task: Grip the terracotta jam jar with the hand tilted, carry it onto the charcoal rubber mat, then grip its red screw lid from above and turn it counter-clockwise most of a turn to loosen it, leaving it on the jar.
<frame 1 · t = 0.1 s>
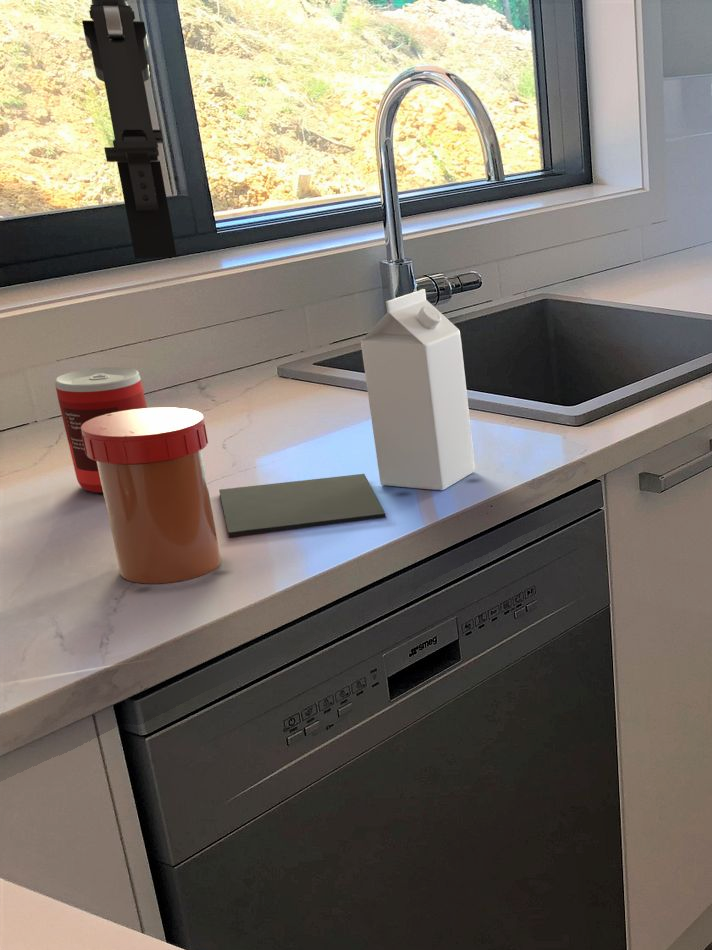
hand: (154, 244, 105), 28 cm above the countertop, tool pointing down, fingers open, 13 cm apart
canned food: (120, 483, 143), on the countertop
jar: (171, 566, 121), on the countertop
jar lid: (143, 426, 116), point 13 cm above the countertop, screwed on, not yet turned
milk carton: (429, 481, 145), on the countertop
mat: (301, 506, 137), on the countertop
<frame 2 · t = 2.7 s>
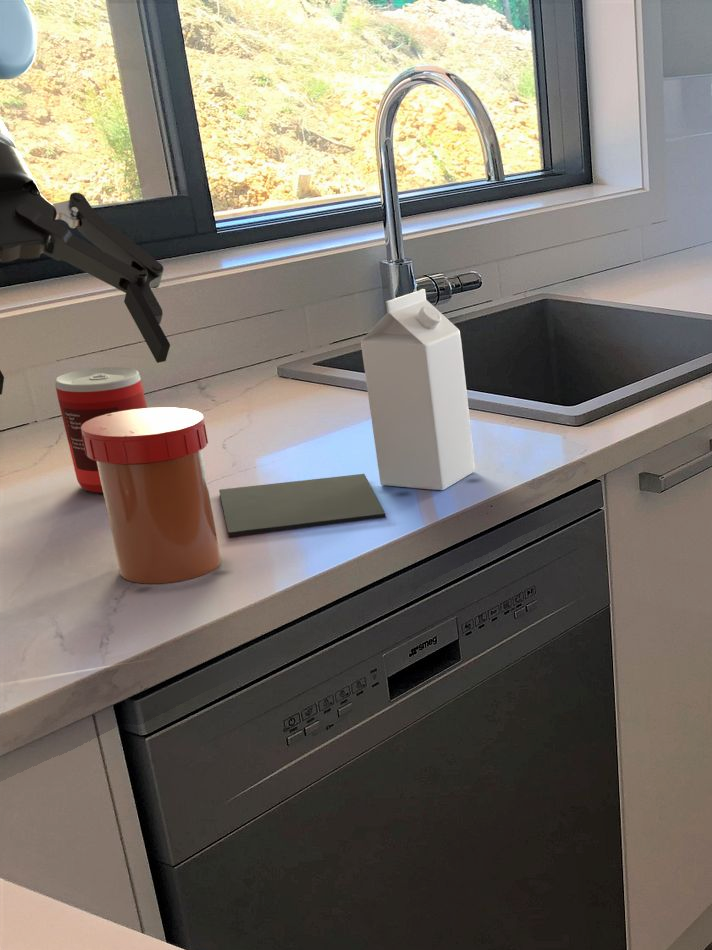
hand: (84, 370, 119), 16 cm above the countertop, tool tilted 40°, fingers open, 13 cm apart
nothing on the countertop moved.
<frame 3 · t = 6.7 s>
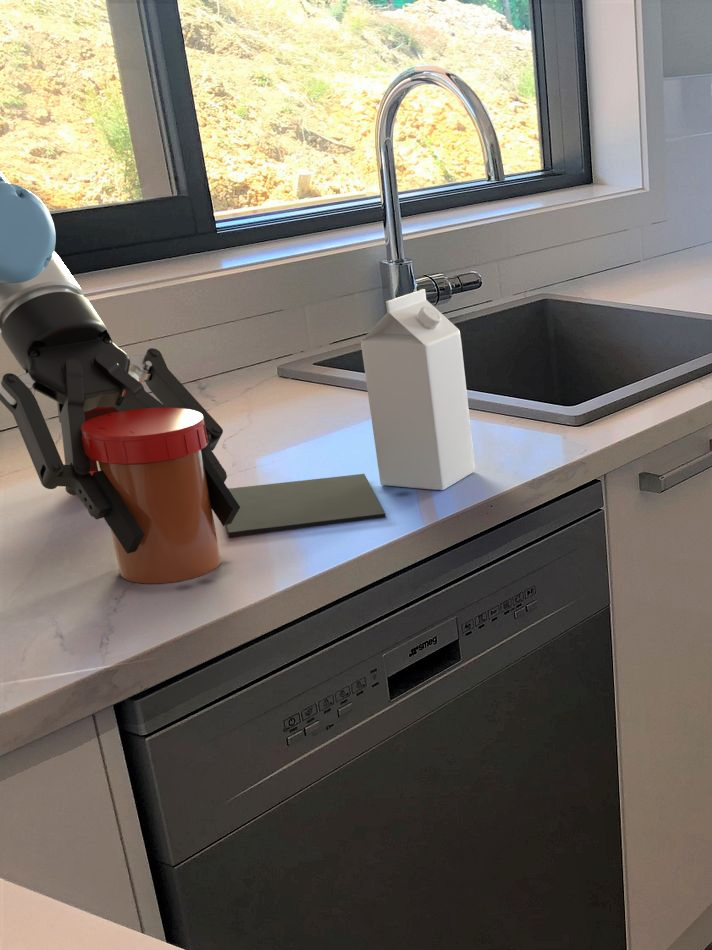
hand: (185, 529, 118), 4 cm above the countertop, tool tilted 45°, fingers closed on jar, 8 cm apart
jar: (171, 566, 121), on the countertop, touching gripper
everything else where it was.
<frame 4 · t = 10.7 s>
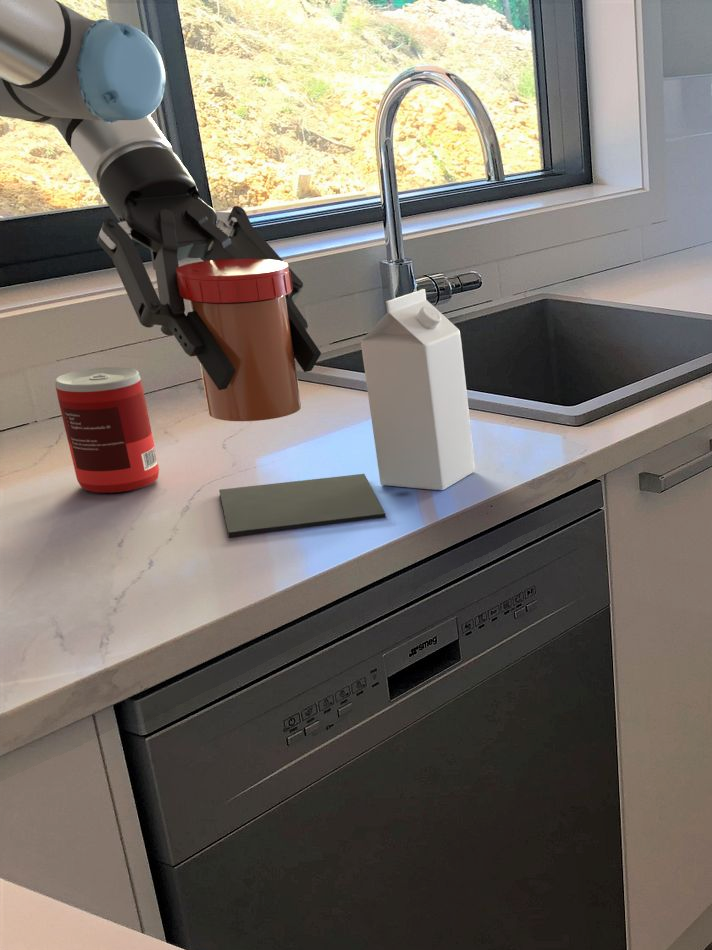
hand: (271, 371, 125), 15 cm above the countertop, tool tilted 45°, fingers closed on jar, 8 cm apart
jar: (255, 410, 129), point 11 cm above the countertop, touching gripper
jar lid: (233, 271, 124), point 23 cm above the countertop, screwed on, not yet turned
everything else where it was.
when the fingers open (5 cm above the countertop, at t = 14.4 s): jar stays where it is, resting on mat.
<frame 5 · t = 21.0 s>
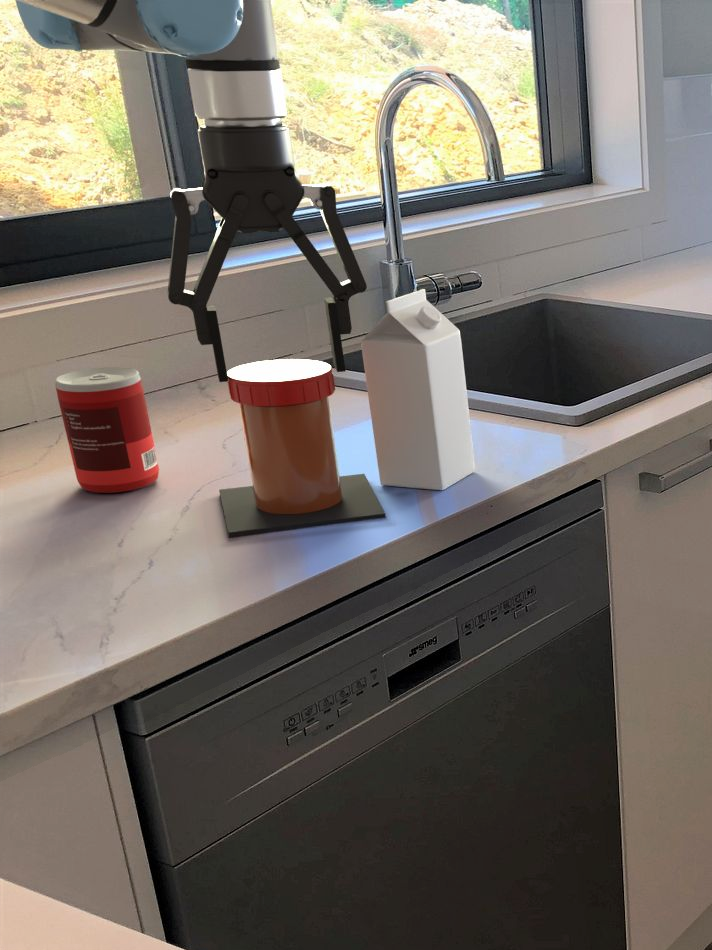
hand: (282, 373, 131), 13 cm above the countertop, tool pointing down, fingers open, 10 cm apart
jar: (299, 501, 136), point 1 cm above the countertop, touching mat
jar lid: (280, 374, 131), point 13 cm above the countertop, screwed on, not yet turned
everything else where it was.
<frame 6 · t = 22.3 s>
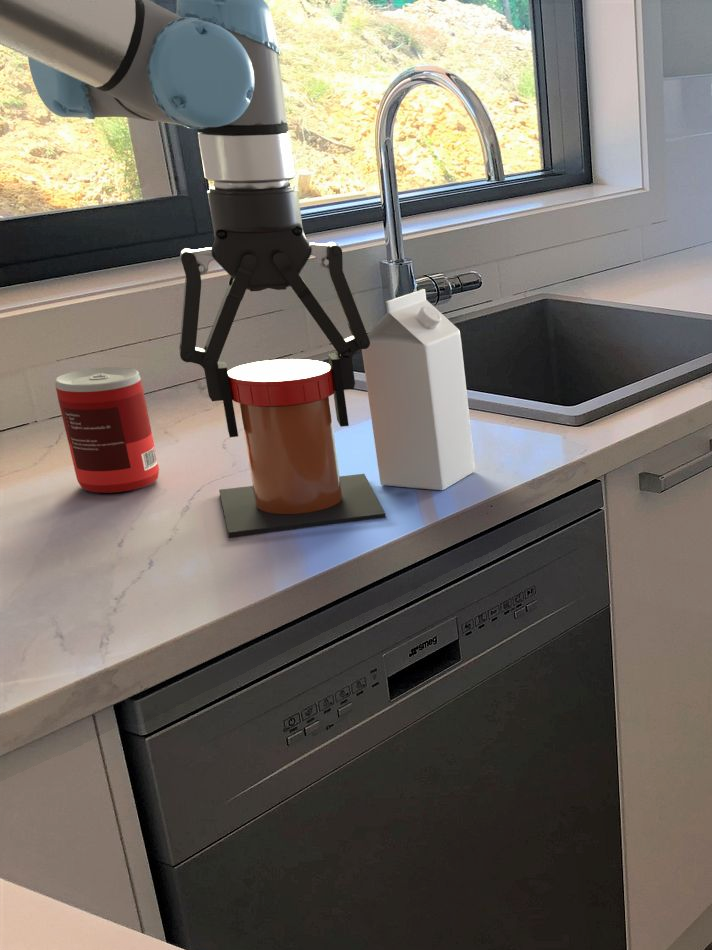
hand: (288, 427, 134), 8 cm above the countertop, tool pointing down, fingers closed on jar lid, 9 cm apart
jar lid: (280, 374, 131), point 13 cm above the countertop, screwed on, not yet turned, touching gripper
everything else where it was.
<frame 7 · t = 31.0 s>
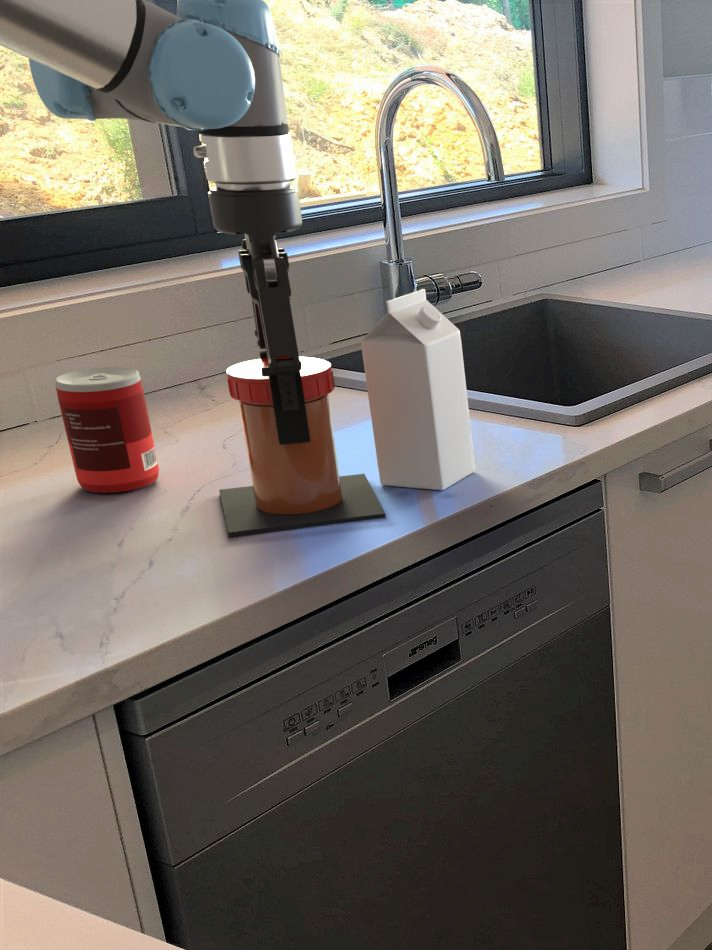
hand: (289, 429, 134), 8 cm above the countertop, tool pointing down, fingers closed on jar lid, 9 cm apart
jar lid: (279, 371, 131), point 13 cm above the countertop, turned 179° so far, risen 0.2 cm, still on its thread, touching gripper
everything else where it was.
when the fingers open (8 cm above the countertop, at t = 33.1 s): jar lid stays where it is, point 14 cm above the countertop.
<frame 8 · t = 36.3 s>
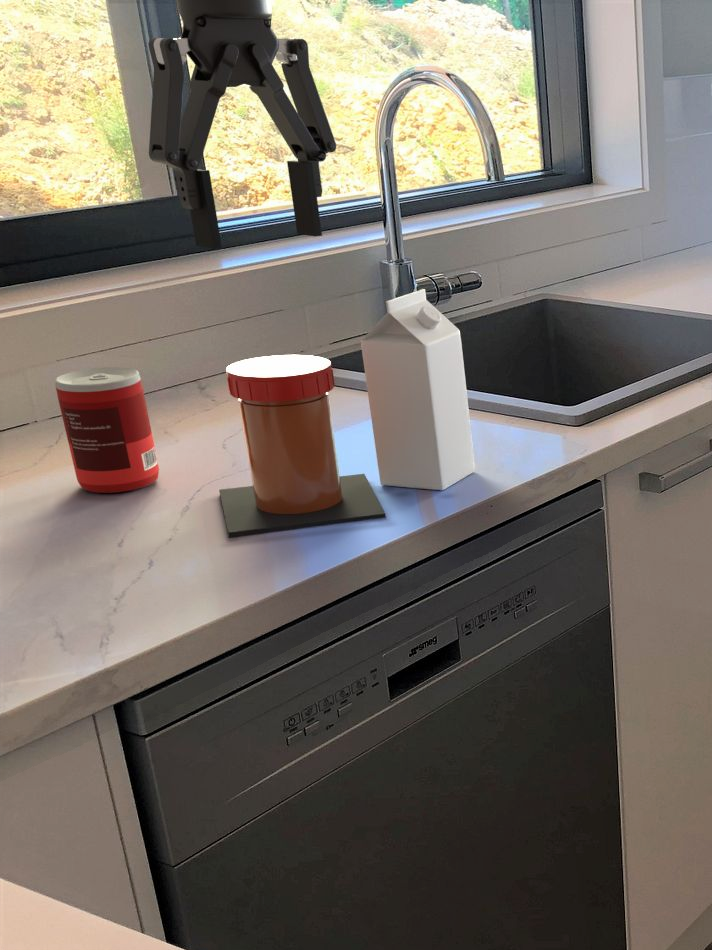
hand: (260, 240, 126), 25 cm above the countertop, tool pointing down, fingers open, 10 cm apart
jar lid: (279, 369, 131), point 14 cm above the countertop, turned 299° so far, risen 0.4 cm, still on its thread
everything else where it was.
at the end: jar inside the target area (0.1 cm from its centre), point 0.5 cm above the countertop; jar lid turned 0.83 turns (still on its thread); jar lid is still on its thread (0.83 turns) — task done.
